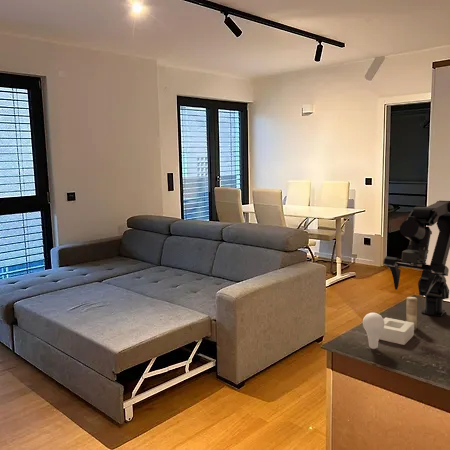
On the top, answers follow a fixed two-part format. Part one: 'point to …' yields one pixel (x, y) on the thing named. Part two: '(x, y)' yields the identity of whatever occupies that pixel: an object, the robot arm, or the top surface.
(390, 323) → the socket
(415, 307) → the dowel
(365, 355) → the top surface
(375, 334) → the lightbulb
